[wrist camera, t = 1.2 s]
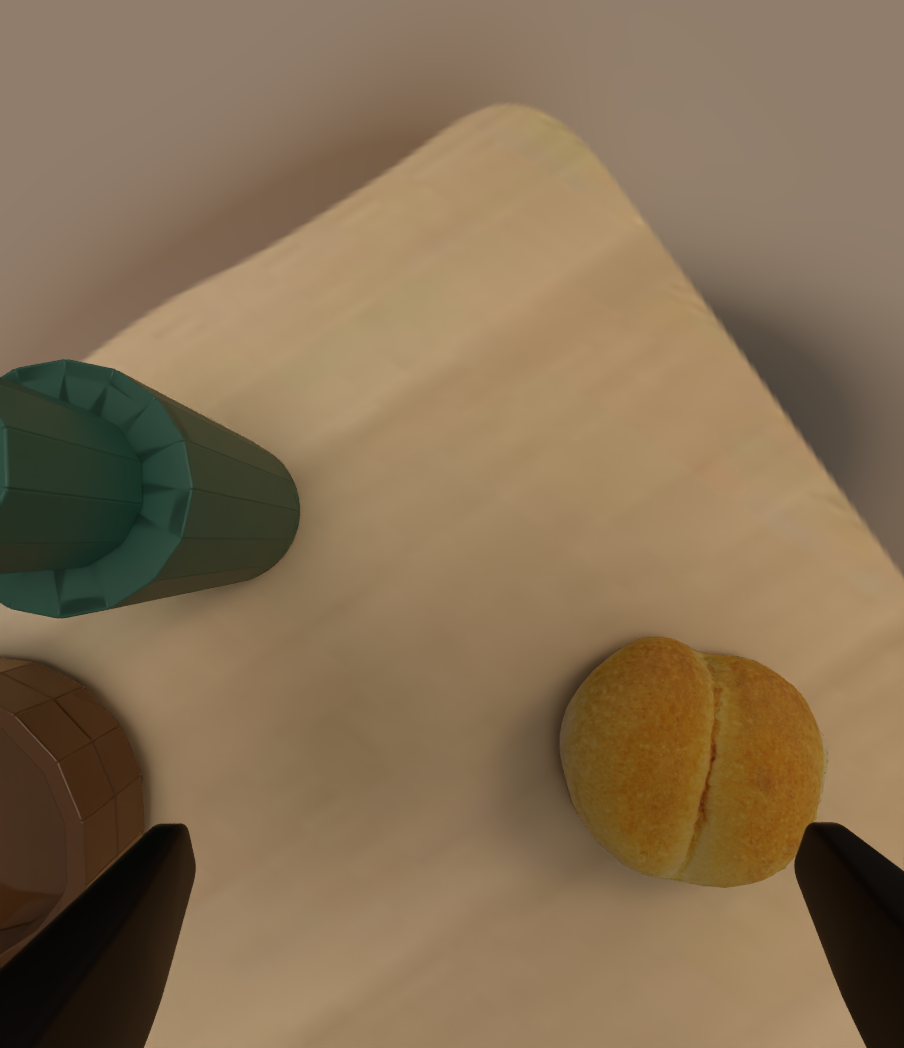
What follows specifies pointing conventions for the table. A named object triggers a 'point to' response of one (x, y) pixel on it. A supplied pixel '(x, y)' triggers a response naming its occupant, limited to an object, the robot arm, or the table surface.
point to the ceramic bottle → (127, 494)
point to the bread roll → (693, 763)
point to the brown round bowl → (58, 797)
